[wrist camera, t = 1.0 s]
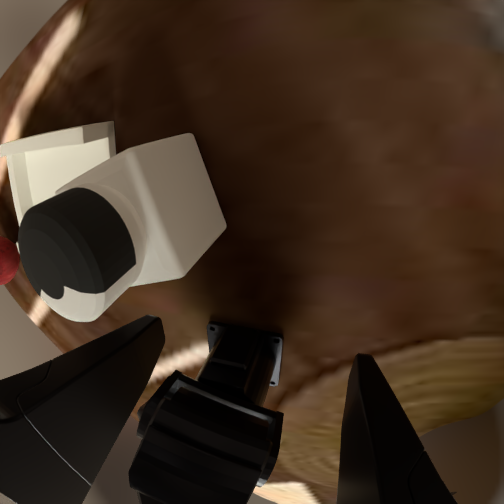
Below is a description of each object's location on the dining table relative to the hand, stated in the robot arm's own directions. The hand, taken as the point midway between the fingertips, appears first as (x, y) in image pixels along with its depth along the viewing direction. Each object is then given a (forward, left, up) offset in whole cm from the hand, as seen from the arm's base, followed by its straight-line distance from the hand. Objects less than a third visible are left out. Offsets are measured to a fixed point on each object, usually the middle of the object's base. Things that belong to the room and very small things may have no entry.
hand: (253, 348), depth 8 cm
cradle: (0, +21, -13) cm, 25 cm away
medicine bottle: (0, +10, -13) cm, 16 cm away
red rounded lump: (-8, +34, -13) cm, 37 cm away
